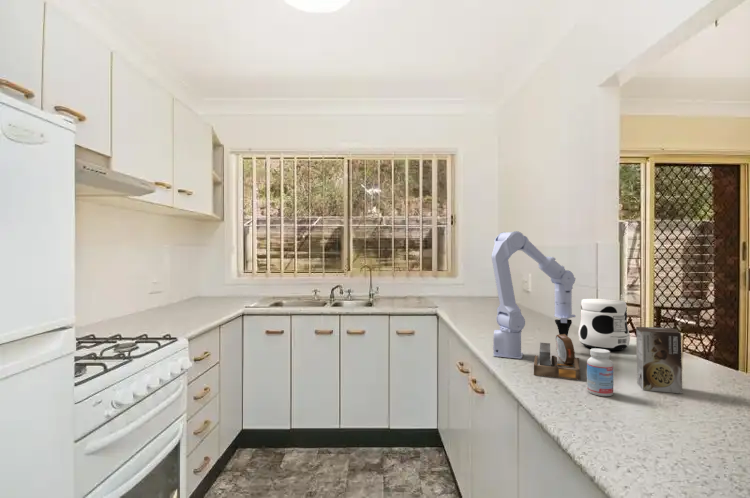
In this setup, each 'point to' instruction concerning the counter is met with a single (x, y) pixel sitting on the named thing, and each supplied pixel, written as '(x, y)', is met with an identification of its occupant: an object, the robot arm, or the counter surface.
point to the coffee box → (659, 359)
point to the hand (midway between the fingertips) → (563, 339)
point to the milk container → (604, 324)
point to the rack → (554, 365)
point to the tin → (565, 349)
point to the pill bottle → (600, 373)
